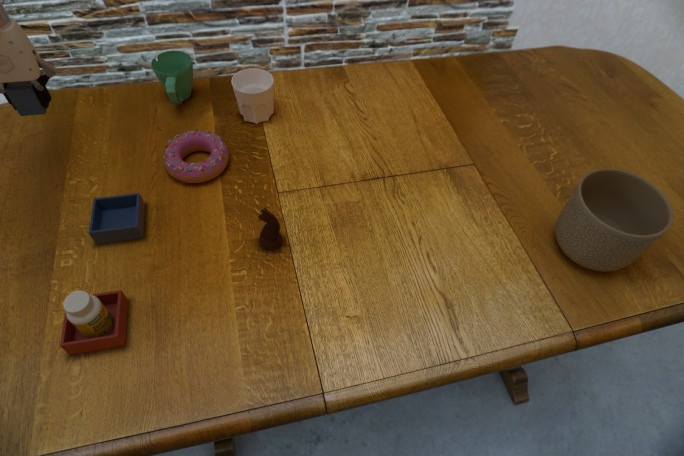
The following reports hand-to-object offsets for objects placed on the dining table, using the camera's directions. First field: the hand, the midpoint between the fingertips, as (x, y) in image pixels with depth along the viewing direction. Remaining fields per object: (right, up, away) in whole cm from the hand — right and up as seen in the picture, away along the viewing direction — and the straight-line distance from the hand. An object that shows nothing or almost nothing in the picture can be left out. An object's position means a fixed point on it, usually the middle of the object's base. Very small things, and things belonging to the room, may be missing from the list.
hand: (32, 104), depth 92 cm
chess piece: (+48, -28, +2) cm, 55 cm away
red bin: (+19, -43, -10) cm, 48 cm away
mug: (+20, +8, +28) cm, 35 cm away
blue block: (0, -1, +1) cm, 1 cm away
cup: (+40, +4, +26) cm, 48 cm away
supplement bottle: (+19, -43, -11) cm, 48 cm away
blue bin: (+16, -24, +3) cm, 29 cm away
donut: (+29, -10, +15) cm, 34 cm away
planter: (+114, -29, +5) cm, 118 cm away
